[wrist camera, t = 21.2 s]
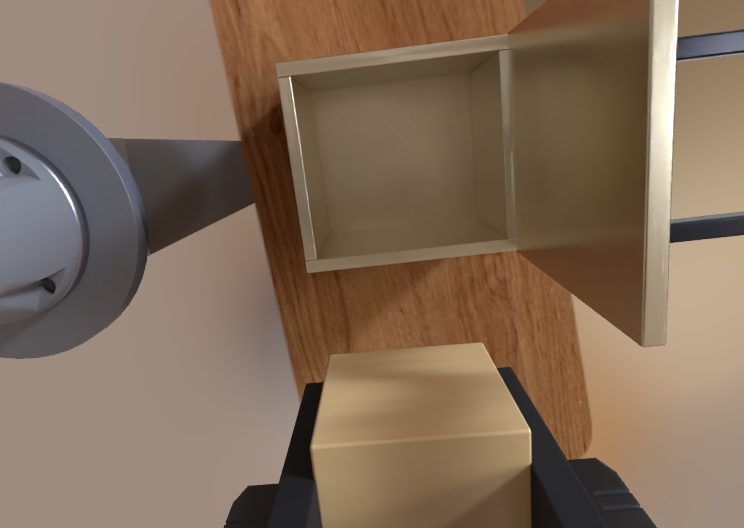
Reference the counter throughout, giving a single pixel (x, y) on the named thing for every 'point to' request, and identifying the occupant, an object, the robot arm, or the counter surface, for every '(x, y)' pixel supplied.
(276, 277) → the counter surface
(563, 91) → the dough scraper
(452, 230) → the open box
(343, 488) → the block
